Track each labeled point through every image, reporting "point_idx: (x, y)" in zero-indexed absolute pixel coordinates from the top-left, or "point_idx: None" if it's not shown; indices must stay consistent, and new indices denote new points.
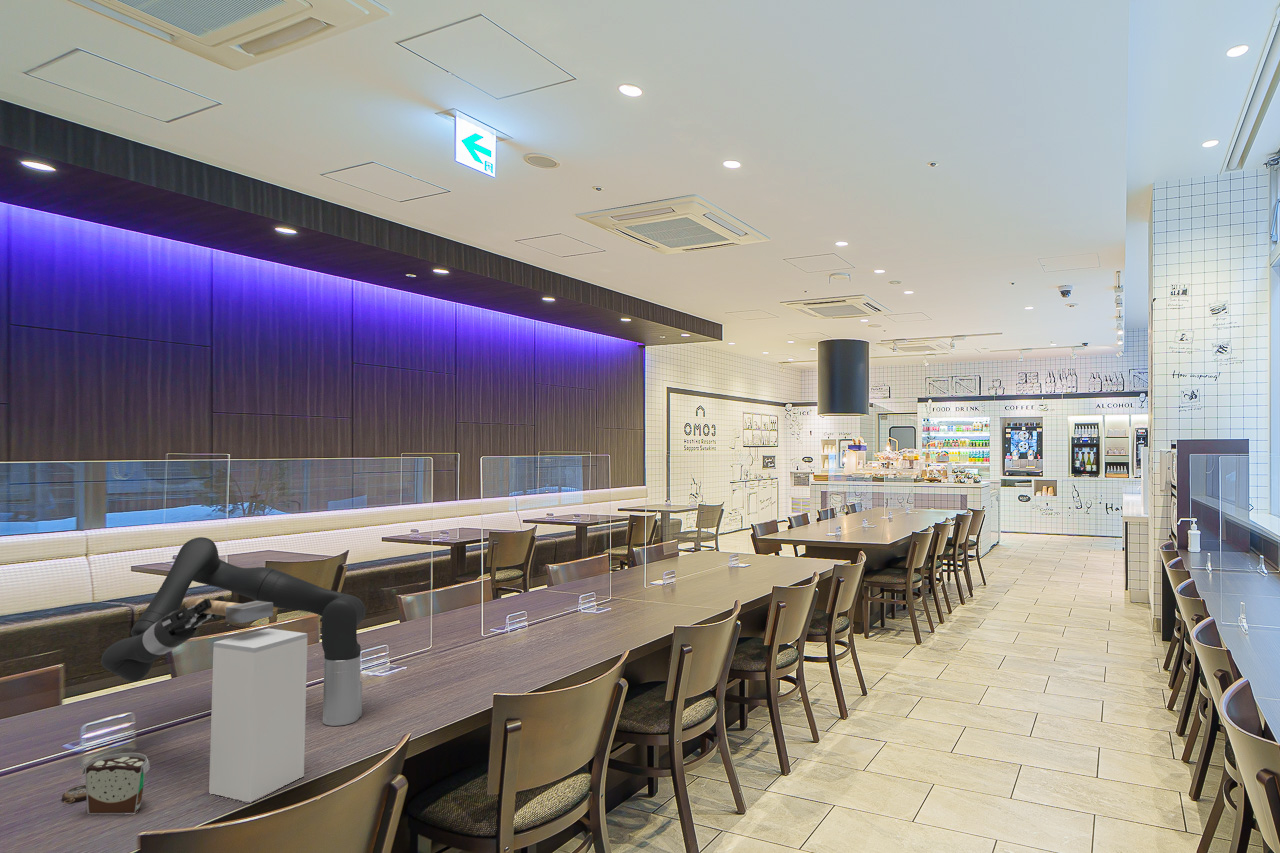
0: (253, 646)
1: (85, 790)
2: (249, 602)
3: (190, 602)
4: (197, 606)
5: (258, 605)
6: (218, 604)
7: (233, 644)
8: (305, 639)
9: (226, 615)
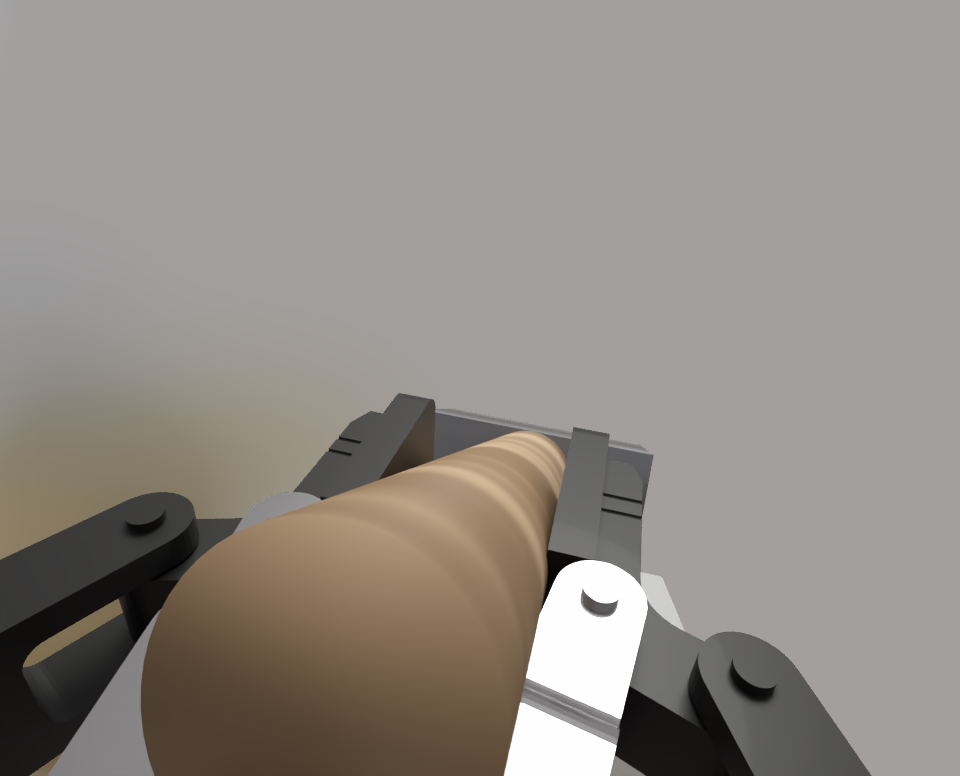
0: (648, 580)
1: None
2: (481, 421)
3: (519, 589)
4: (637, 548)
5: (537, 425)
6: (552, 468)
7: (672, 619)
8: None
9: (642, 507)
